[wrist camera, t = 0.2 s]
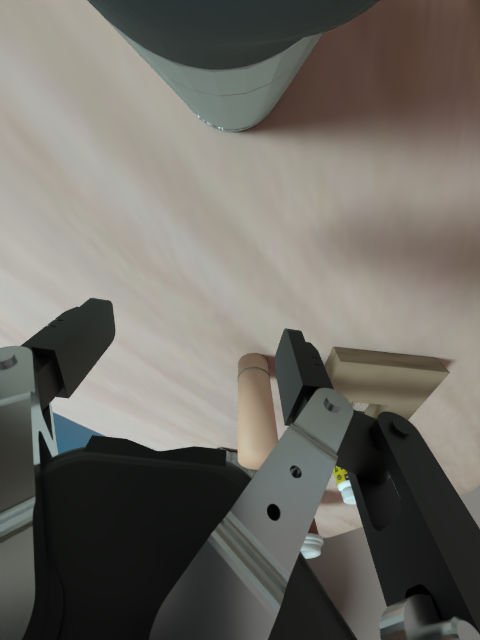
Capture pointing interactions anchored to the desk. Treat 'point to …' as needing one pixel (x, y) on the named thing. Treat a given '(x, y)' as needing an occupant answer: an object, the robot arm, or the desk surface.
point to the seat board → (384, 379)
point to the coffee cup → (312, 542)
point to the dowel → (255, 412)
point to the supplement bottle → (344, 485)
